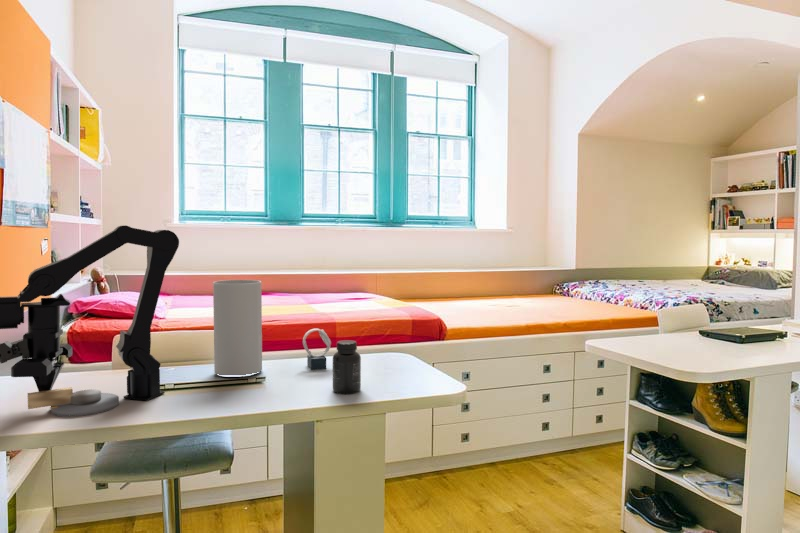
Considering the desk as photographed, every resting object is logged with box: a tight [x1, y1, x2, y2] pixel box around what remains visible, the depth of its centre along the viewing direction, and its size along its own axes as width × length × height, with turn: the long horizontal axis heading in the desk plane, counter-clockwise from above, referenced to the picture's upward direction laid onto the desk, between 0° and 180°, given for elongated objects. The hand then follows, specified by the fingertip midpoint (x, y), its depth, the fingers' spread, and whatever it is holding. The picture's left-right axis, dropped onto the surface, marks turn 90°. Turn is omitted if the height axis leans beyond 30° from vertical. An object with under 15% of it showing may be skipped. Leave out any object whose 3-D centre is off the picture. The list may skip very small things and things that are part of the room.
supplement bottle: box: [332, 339, 362, 395], centre depth 136 cm, size 7×7×12 cm
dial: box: [27, 387, 102, 410], centre depth 120 cm, size 14×6×3 cm, turn 126°
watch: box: [302, 328, 332, 371], centre depth 159 cm, size 6×8×11 cm
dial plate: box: [49, 392, 120, 418], centre depth 122 cm, size 13×13×1 cm
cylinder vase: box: [212, 279, 263, 375], centre depth 151 cm, size 12×12×25 cm
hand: (44, 398), depth 120 cm, fingers closed
